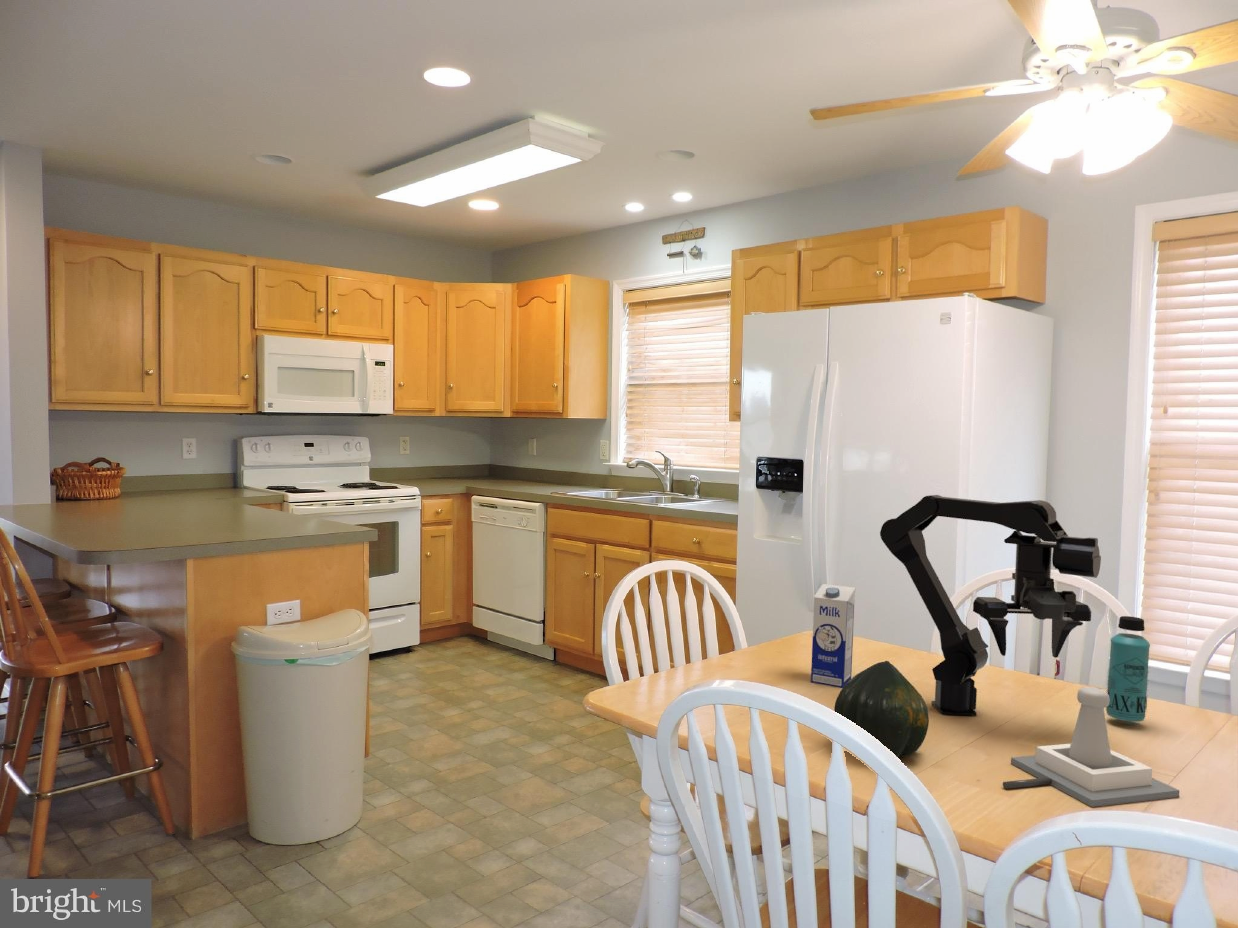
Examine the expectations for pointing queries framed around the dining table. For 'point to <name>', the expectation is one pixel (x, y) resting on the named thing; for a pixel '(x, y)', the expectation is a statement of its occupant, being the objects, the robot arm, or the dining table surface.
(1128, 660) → the beverage bottle
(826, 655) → the milk carton
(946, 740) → the dining table surface
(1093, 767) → the salt shaker
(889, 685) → the squash
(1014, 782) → the dock
